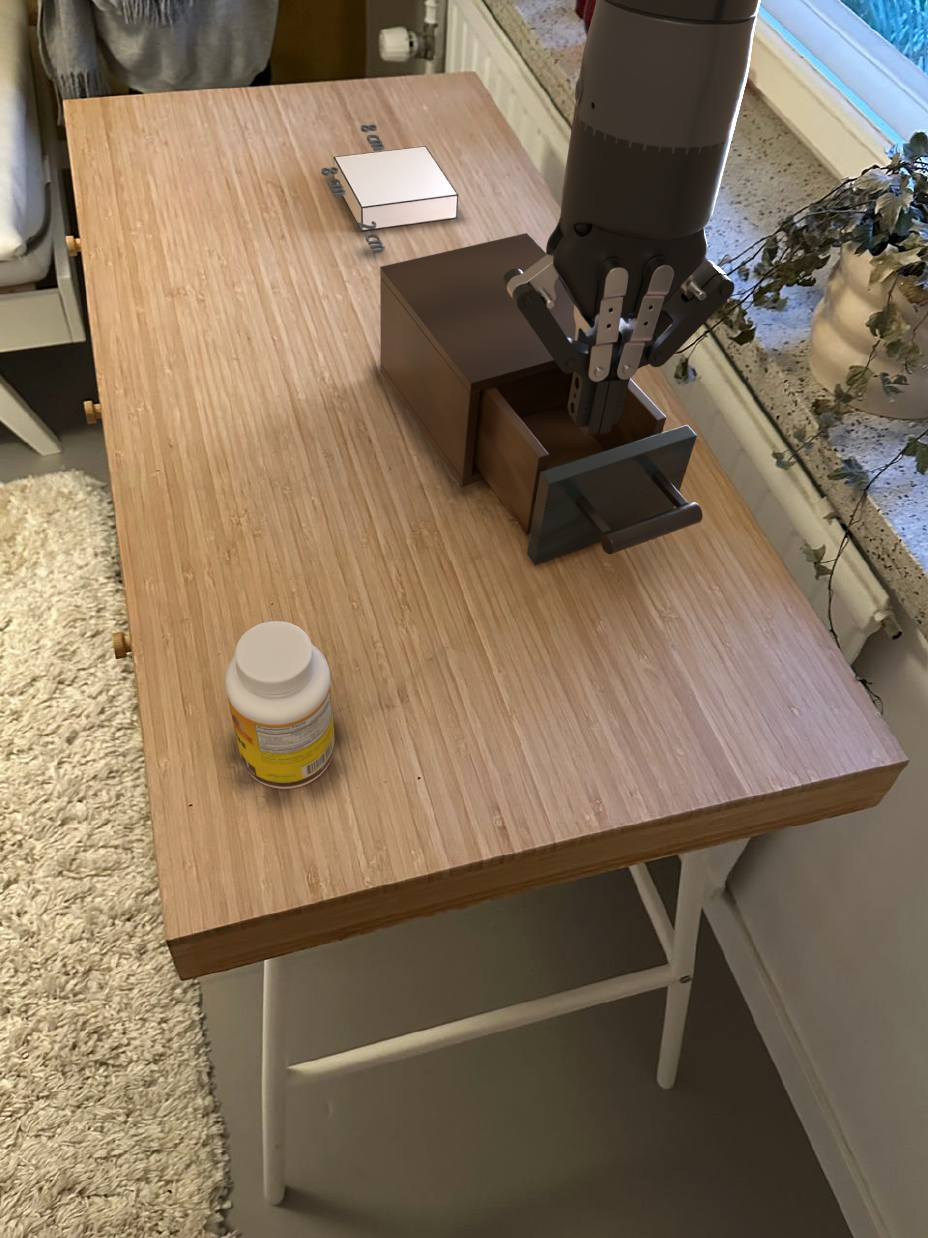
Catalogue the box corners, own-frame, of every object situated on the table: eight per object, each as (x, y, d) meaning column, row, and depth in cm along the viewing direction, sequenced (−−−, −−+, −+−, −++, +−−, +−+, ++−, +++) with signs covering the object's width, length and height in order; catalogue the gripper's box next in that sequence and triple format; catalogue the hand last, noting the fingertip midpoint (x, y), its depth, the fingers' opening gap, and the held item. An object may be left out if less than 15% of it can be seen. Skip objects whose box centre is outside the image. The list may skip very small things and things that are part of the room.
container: (476, 248, 95) (478, 221, 93) (358, 265, 92) (357, 238, 90) (408, 143, 106) (409, 117, 104) (301, 156, 103) (299, 129, 101)
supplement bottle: (244, 712, 62) (224, 606, 54) (337, 712, 62) (330, 607, 54) (235, 794, 58) (212, 694, 50) (333, 794, 59) (326, 694, 51)
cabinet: (605, 441, 79) (628, 338, 72) (461, 487, 75) (470, 383, 68) (514, 335, 87) (527, 232, 80) (380, 371, 83) (379, 266, 75)
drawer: (709, 562, 71) (740, 481, 65) (569, 615, 67) (588, 534, 61) (574, 404, 80) (590, 320, 74) (446, 443, 77) (451, 358, 71)
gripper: (550, 141, 43) (504, 475, 55) (818, 138, 47) (720, 453, 59) (496, 85, 49) (465, 402, 60) (742, 86, 52) (666, 385, 64)
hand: (591, 426), depth 60 cm, fingers closed
